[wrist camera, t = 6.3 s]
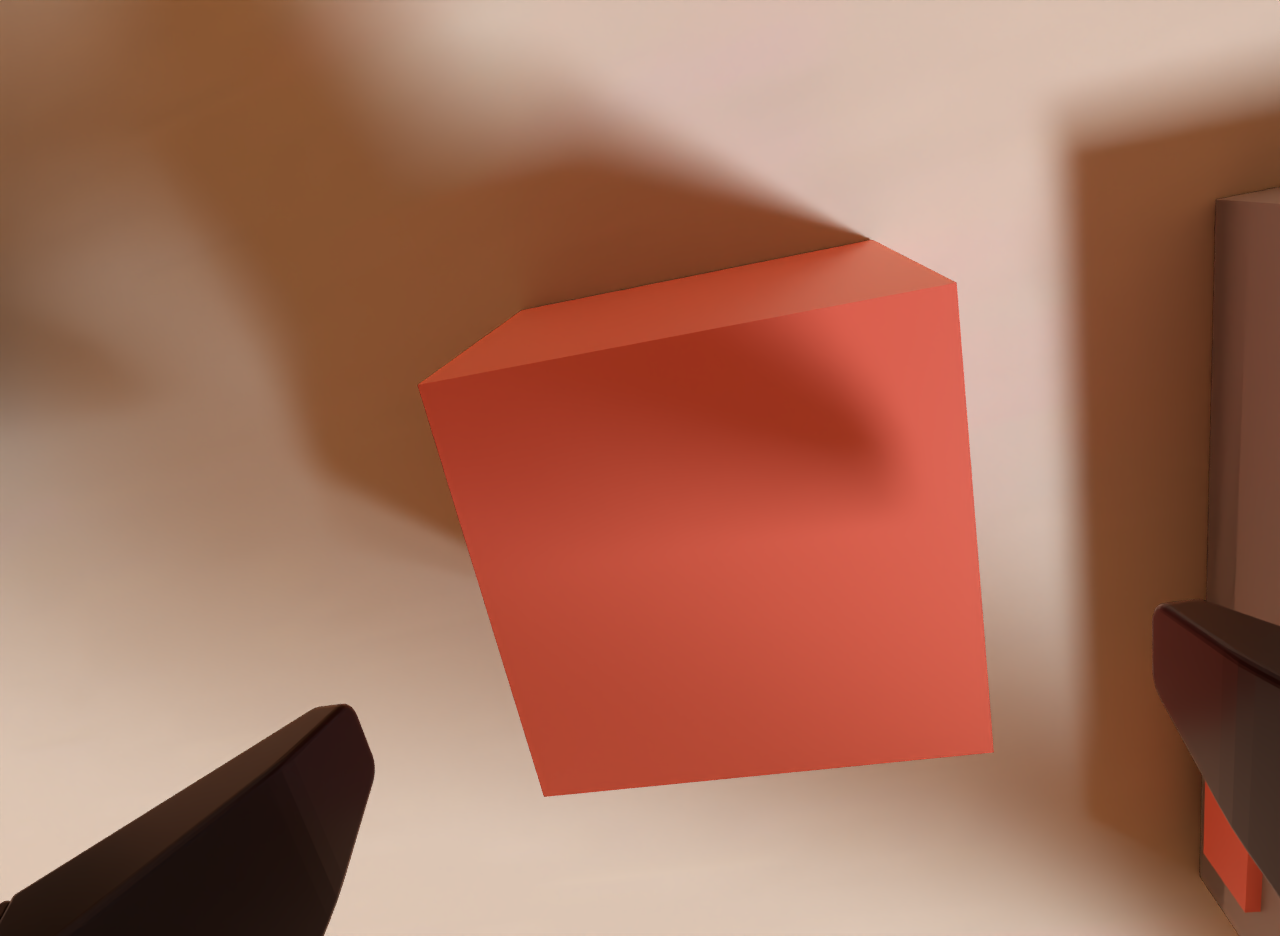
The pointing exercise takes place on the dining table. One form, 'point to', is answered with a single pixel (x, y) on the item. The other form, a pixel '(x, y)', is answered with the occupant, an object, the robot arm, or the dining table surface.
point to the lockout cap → (726, 521)
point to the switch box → (1244, 494)
